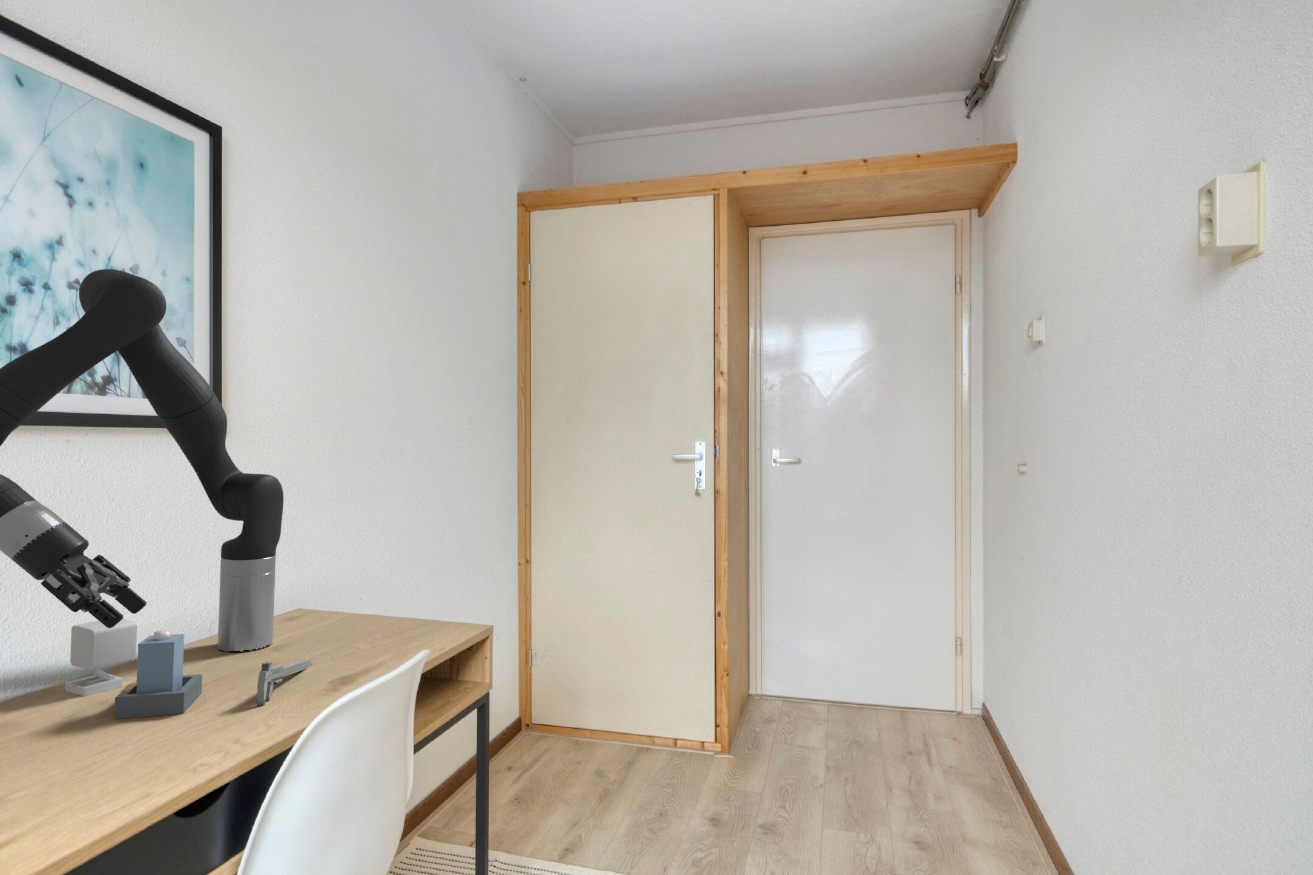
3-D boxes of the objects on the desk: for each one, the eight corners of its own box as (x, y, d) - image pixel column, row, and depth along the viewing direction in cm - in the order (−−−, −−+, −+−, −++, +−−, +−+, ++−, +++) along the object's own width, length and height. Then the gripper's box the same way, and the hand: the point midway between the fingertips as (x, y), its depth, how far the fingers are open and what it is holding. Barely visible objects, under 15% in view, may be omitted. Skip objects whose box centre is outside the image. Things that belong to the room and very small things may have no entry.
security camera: (135, 683, 114) (137, 621, 114) (85, 697, 107) (87, 631, 107) (112, 677, 116) (115, 616, 116) (62, 689, 110) (65, 625, 110)
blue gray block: (135, 712, 102) (138, 636, 102) (147, 701, 106) (150, 628, 106) (171, 709, 103) (174, 635, 103) (181, 698, 108) (184, 627, 108)
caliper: (264, 707, 106) (265, 665, 106) (256, 707, 106) (257, 666, 106) (312, 664, 126) (313, 629, 126) (306, 665, 126) (307, 630, 126)
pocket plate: (113, 718, 100) (114, 695, 100) (137, 697, 108) (138, 676, 108) (183, 713, 102) (184, 691, 102) (201, 693, 110) (202, 672, 110)
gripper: (34, 527, 94) (132, 608, 98) (84, 515, 108) (168, 587, 111) (-16, 567, 93) (85, 648, 96) (41, 550, 106) (127, 622, 110)
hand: (129, 615), depth 104 cm, fingers open, 8 cm apart
